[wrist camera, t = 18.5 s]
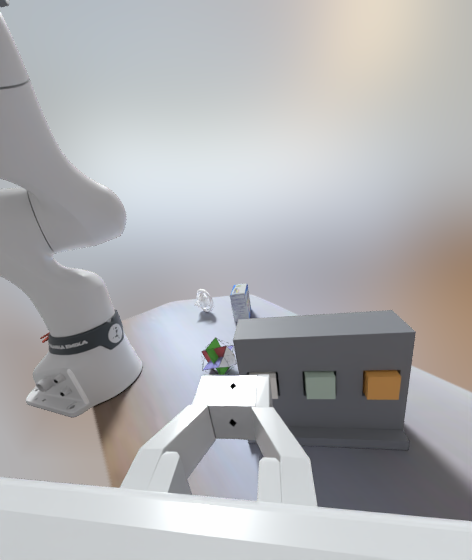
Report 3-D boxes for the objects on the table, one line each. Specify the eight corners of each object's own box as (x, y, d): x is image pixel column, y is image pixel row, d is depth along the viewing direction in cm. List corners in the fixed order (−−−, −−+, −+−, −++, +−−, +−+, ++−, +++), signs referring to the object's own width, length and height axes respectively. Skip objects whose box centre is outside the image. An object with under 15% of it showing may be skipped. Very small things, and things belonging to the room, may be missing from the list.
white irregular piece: (219, 312, 71) (214, 289, 69) (205, 320, 68) (199, 296, 65) (204, 306, 77) (199, 285, 74) (190, 313, 73) (184, 291, 71)
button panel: (248, 443, 31) (231, 347, 26) (252, 401, 38) (238, 317, 33) (408, 450, 28) (424, 340, 23) (382, 402, 34) (390, 308, 29)
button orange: (367, 399, 27) (368, 377, 26) (358, 380, 30) (358, 359, 29) (398, 399, 26) (401, 376, 25) (386, 380, 29) (388, 358, 28)
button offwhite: (251, 398, 29) (248, 378, 28) (253, 381, 32) (250, 362, 31) (277, 398, 29) (275, 377, 28) (277, 381, 32) (275, 361, 31)
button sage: (306, 399, 28) (305, 377, 27) (303, 380, 31) (302, 360, 30) (335, 399, 28) (335, 377, 26) (329, 380, 30) (329, 360, 29)
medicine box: (249, 321, 63) (245, 293, 60) (234, 322, 64) (229, 294, 61) (251, 308, 70) (247, 283, 68) (237, 309, 71) (233, 284, 68)
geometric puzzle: (188, 368, 45) (202, 345, 41) (206, 347, 51) (219, 325, 46) (217, 391, 44) (234, 369, 40) (231, 367, 49) (248, 346, 45)
